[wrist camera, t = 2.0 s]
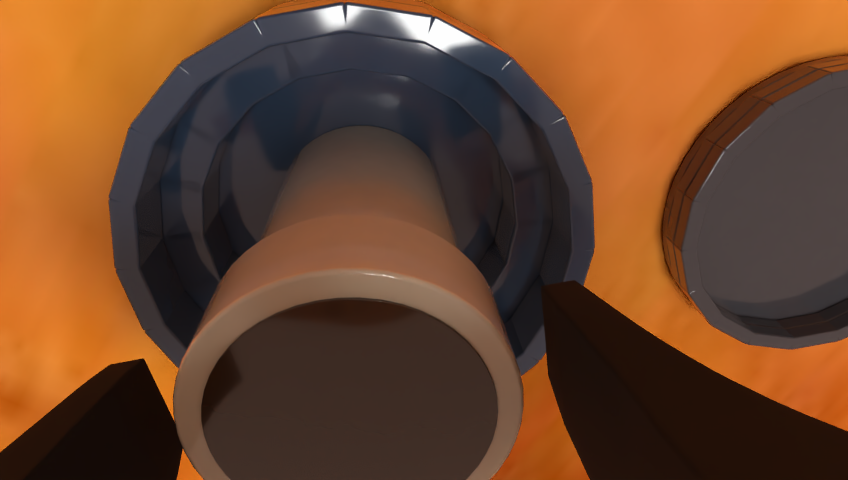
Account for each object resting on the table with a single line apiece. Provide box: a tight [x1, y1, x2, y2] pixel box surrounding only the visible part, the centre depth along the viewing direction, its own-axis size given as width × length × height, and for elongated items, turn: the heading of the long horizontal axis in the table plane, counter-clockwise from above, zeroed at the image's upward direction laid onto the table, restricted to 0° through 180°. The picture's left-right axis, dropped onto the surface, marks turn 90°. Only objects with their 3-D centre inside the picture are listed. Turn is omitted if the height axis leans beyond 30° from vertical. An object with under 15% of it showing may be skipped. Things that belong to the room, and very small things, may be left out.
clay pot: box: [173, 126, 524, 480], centre depth 13 cm, size 6×6×9 cm
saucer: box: [663, 55, 848, 349], centre depth 18 cm, size 9×10×2 cm
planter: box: [109, 0, 595, 376], centre depth 16 cm, size 12×12×4 cm
